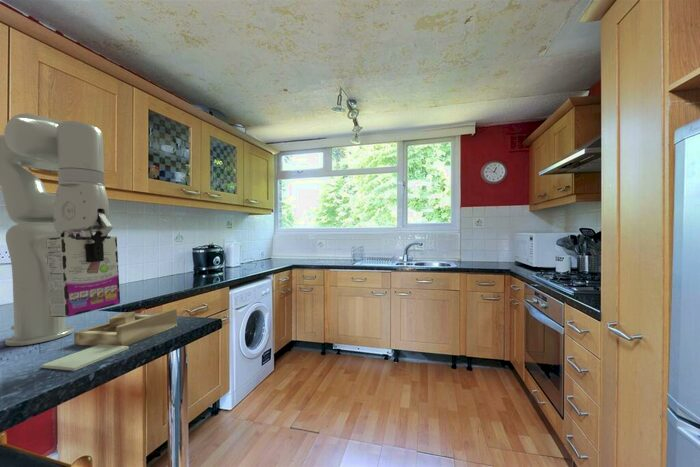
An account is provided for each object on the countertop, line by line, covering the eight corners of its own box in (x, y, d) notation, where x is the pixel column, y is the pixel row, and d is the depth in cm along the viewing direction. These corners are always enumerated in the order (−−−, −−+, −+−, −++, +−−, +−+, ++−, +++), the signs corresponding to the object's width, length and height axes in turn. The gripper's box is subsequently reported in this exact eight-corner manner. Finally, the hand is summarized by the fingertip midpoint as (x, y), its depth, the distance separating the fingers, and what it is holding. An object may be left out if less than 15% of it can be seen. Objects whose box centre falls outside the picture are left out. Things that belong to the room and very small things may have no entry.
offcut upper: (109, 328, 76) (109, 318, 76) (120, 321, 81) (119, 313, 81) (125, 326, 77) (125, 317, 77) (135, 320, 82) (134, 311, 82)
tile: (41, 367, 59) (41, 364, 59) (99, 346, 70) (99, 344, 70) (74, 370, 57) (74, 367, 57) (128, 348, 68) (128, 346, 68)
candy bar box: (104, 303, 69) (102, 236, 69) (121, 304, 68) (118, 235, 68) (47, 317, 58) (44, 237, 58) (66, 317, 57) (63, 236, 57)
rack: (74, 344, 72) (73, 324, 72) (135, 324, 88) (135, 308, 88) (122, 347, 69) (121, 326, 69) (177, 325, 84) (176, 309, 84)
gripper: (32, 180, 62) (35, 264, 62) (93, 173, 58) (96, 263, 58) (73, 186, 69) (75, 261, 69) (129, 180, 65) (132, 259, 65)
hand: (85, 261), depth 63 cm, fingers closed on candy bar box, 5 cm apart
